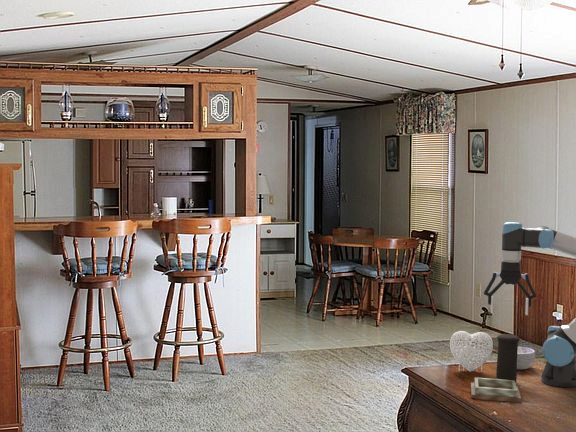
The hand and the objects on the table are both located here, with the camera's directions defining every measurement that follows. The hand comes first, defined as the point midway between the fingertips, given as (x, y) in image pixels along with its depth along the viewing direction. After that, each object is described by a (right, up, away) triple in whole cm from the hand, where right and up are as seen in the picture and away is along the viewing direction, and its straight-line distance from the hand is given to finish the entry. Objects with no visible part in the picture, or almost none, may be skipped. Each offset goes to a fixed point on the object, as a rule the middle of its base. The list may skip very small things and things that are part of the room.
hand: (509, 313), depth 343 cm
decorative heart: (-11, -27, +21) cm, 36 cm away
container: (-1, -29, +2) cm, 29 cm away
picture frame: (-9, -29, -14) cm, 34 cm away
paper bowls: (+11, -27, +31) cm, 43 cm away
